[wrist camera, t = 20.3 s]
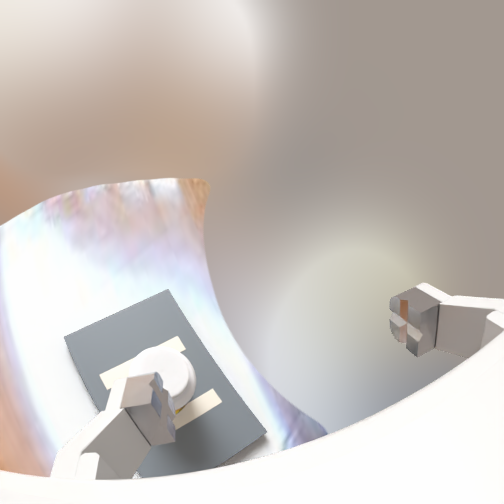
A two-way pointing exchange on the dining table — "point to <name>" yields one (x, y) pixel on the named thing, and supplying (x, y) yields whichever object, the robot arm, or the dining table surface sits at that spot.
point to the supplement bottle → (168, 372)
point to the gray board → (200, 405)
